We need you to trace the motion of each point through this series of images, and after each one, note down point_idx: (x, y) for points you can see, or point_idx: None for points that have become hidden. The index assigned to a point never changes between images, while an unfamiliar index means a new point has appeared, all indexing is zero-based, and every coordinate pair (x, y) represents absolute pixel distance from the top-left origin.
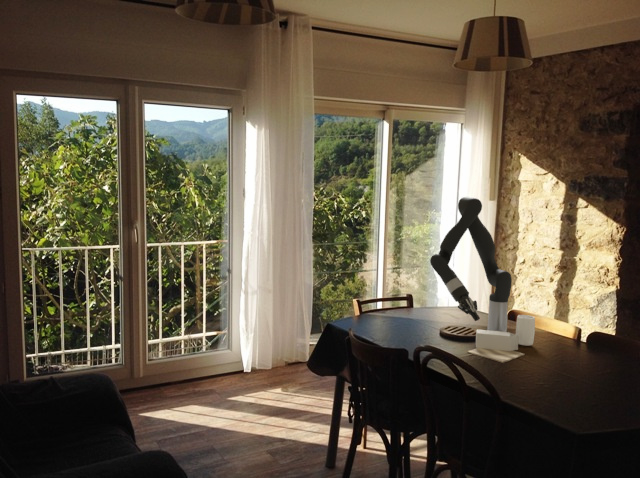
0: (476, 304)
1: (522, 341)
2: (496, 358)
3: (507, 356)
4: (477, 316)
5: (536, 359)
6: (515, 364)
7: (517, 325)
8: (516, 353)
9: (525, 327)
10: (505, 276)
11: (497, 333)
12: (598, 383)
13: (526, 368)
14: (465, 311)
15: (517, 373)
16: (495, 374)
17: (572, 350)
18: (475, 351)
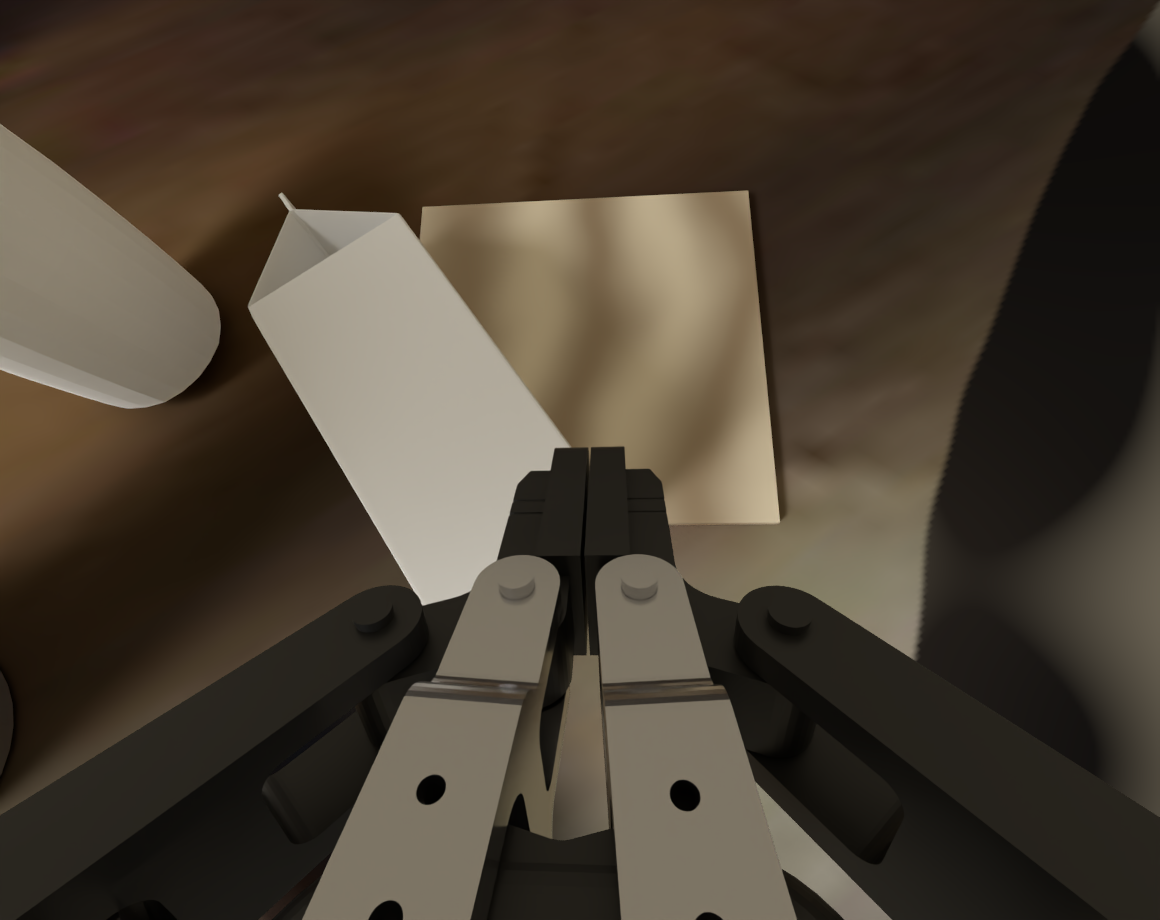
0: (91, 782)
1: (198, 300)
2: (725, 256)
3: (598, 239)
4: (601, 468)
5: (451, 123)
6: (689, 137)
7: (23, 276)
8: (463, 243)
9: (55, 179)
10: None
11: (409, 350)
12: None
13: (699, 61)
14: (848, 769)
15: (848, 38)
16: (1016, 94)
17: (50, 104)
18: (720, 470)
